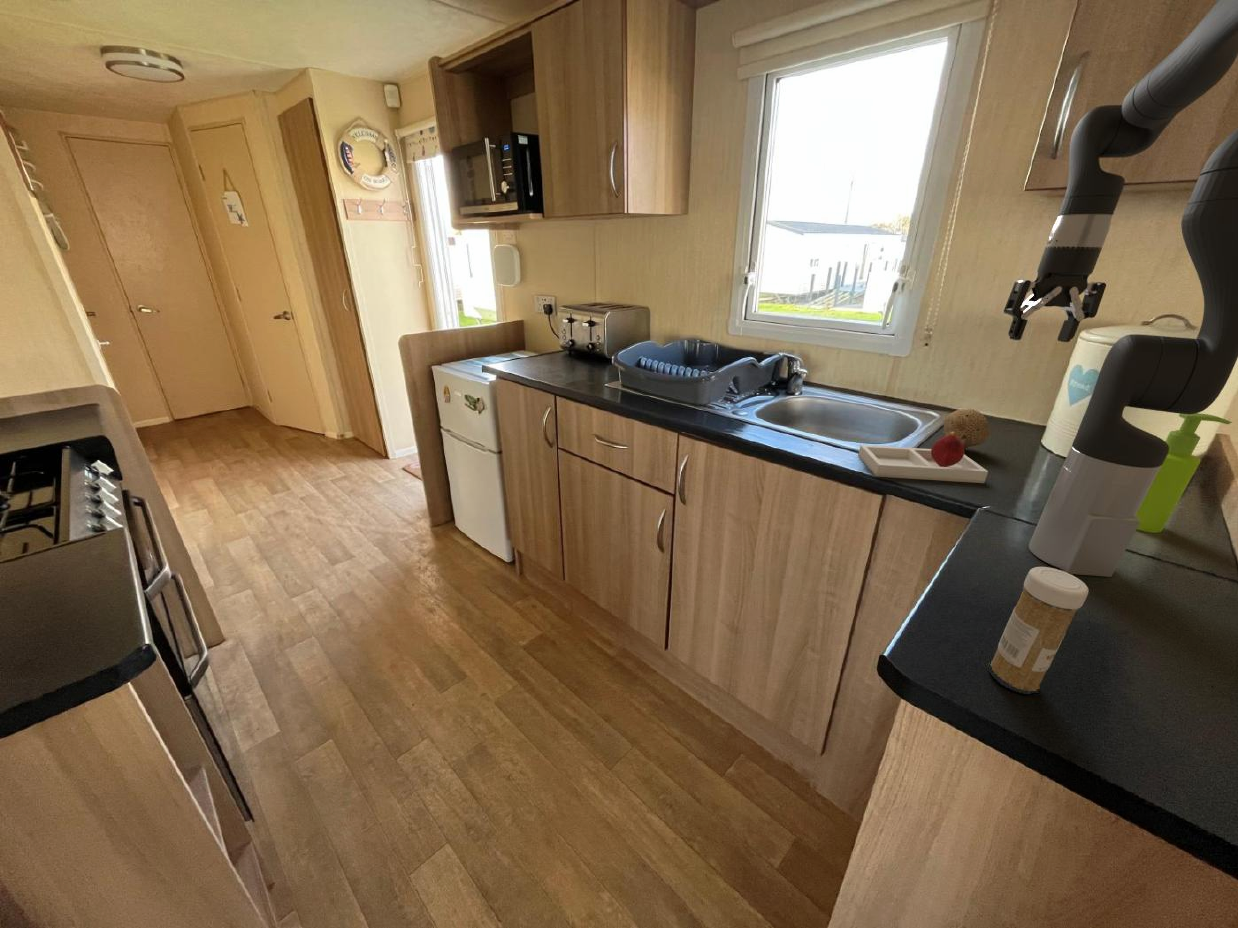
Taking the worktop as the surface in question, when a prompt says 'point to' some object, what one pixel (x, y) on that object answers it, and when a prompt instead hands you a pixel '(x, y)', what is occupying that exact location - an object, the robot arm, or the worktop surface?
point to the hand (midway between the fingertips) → (1038, 340)
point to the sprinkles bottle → (1037, 626)
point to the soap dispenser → (1173, 474)
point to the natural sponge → (967, 427)
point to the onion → (947, 450)
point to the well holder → (918, 465)
